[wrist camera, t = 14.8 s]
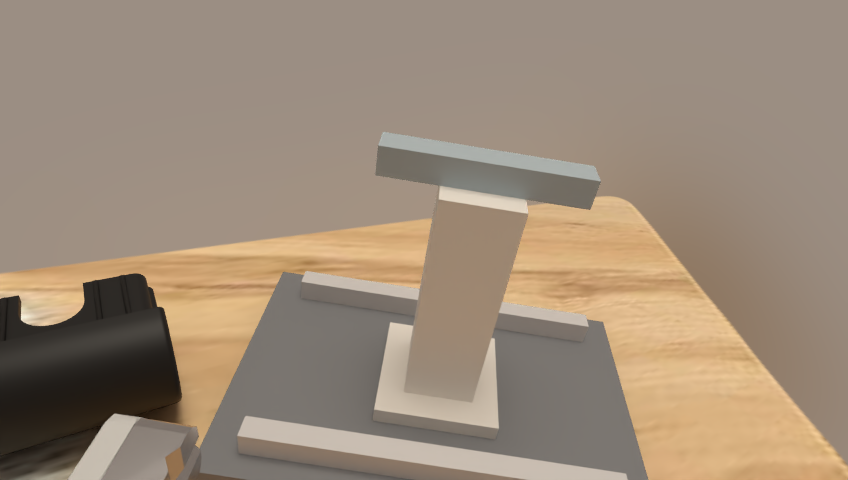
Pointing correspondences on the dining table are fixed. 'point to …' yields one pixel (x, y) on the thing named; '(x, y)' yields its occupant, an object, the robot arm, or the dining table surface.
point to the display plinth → (403, 445)
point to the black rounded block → (84, 364)
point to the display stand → (463, 276)
